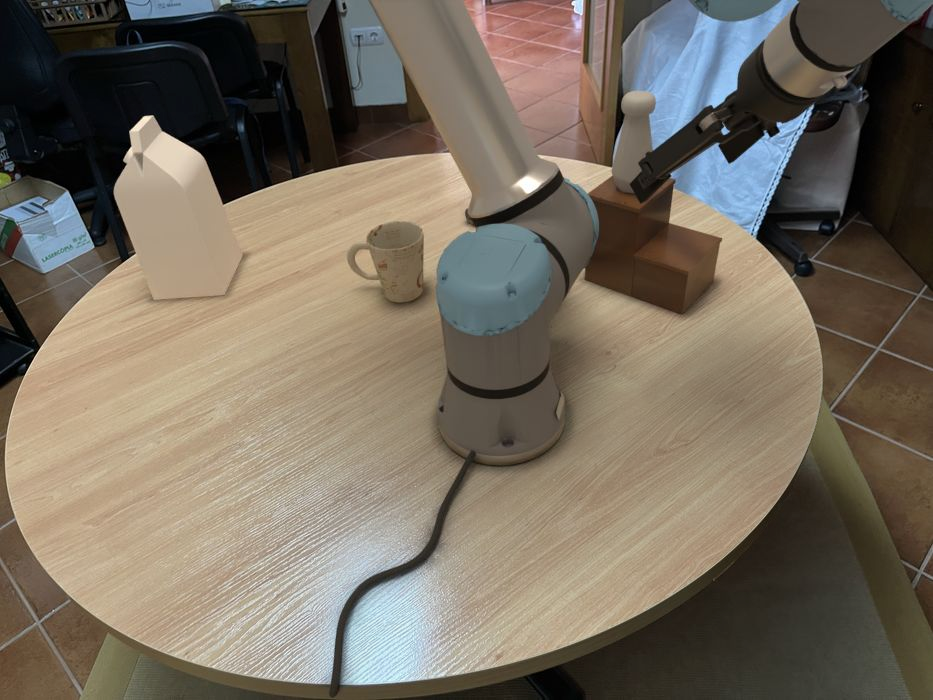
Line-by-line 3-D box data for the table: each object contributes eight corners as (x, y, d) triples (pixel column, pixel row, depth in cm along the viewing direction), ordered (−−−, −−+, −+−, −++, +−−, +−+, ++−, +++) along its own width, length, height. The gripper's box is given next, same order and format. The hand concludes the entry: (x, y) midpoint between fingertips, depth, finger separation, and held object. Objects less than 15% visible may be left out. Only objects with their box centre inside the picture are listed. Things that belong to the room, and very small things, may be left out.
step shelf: (682, 315, 96) (695, 224, 87) (583, 280, 105) (586, 194, 96) (714, 281, 102) (730, 192, 93) (618, 250, 111) (624, 166, 102)
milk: (224, 295, 109) (167, 136, 93) (153, 299, 110) (84, 143, 94) (243, 255, 119) (193, 105, 102) (177, 259, 119) (118, 111, 103)
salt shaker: (629, 174, 100) (636, 82, 92) (661, 185, 96) (672, 91, 88) (602, 188, 97) (607, 95, 89) (634, 200, 94) (642, 104, 85)
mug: (423, 309, 102) (414, 250, 96) (343, 304, 105) (330, 247, 99) (436, 278, 109) (429, 221, 102) (360, 274, 111) (349, 219, 105)
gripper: (711, 146, 59) (613, 238, 80) (912, 58, 66) (775, 163, 86) (668, 72, 60) (582, 182, 80) (871, -7, 67) (745, 113, 87)
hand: (682, 173), depth 83 cm, fingers open, 13 cm apart
